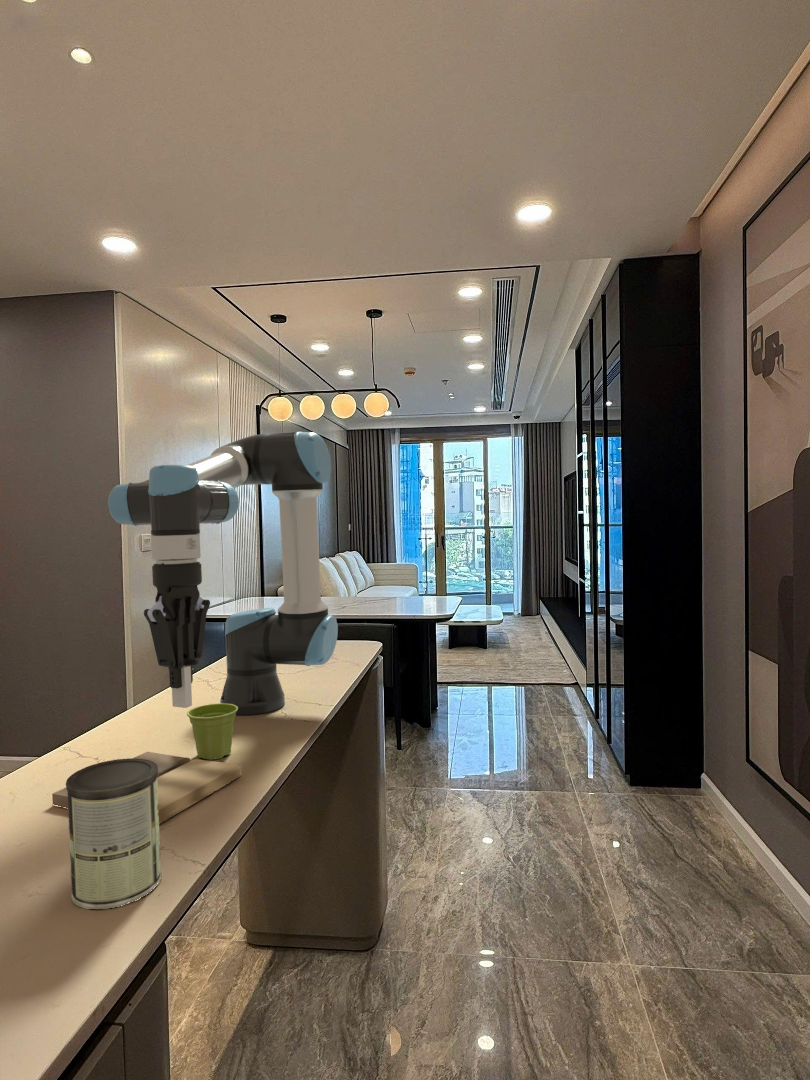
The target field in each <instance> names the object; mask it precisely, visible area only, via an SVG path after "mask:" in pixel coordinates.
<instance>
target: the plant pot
mask: <svg viewBox="0 0 810 1080" xmlns="http://www.w3.org/2000/svg"><path fill="white" fill-rule="evenodd" d="M237 710H238V707H237V706H236V705H233V704H223V703H220V702H219V703H209V704H203V705H199V706H196V707H193V708H191V709H189V710H188V711H187V712H186V716H187V717H188V718H189V722H190V724H191V727H192V731H193V736H194V737H193V738H194V742H195V748H196V754H197V757H198V758H199V759H203V760H205V759H213V760H219V759H218V758H220V759H223V757H224V756H229V755H230V754H231V752H232V745H233V744H232V742H233V733H234V732H233V731H234V723H235V718H236V715H237V714H236V712H237Z"/></svg>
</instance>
